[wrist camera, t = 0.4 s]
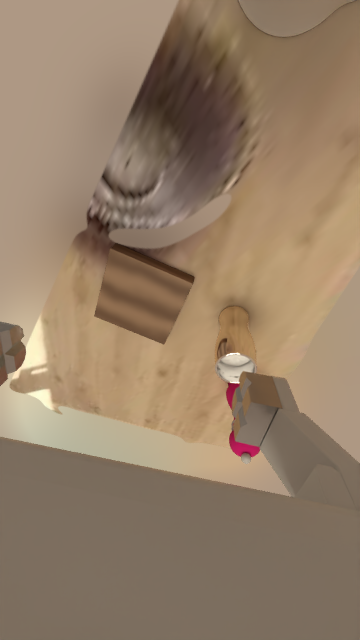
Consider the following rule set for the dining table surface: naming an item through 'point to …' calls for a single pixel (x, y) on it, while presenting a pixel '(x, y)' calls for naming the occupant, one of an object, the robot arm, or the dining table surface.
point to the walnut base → (141, 293)
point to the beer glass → (234, 345)
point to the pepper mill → (238, 448)
